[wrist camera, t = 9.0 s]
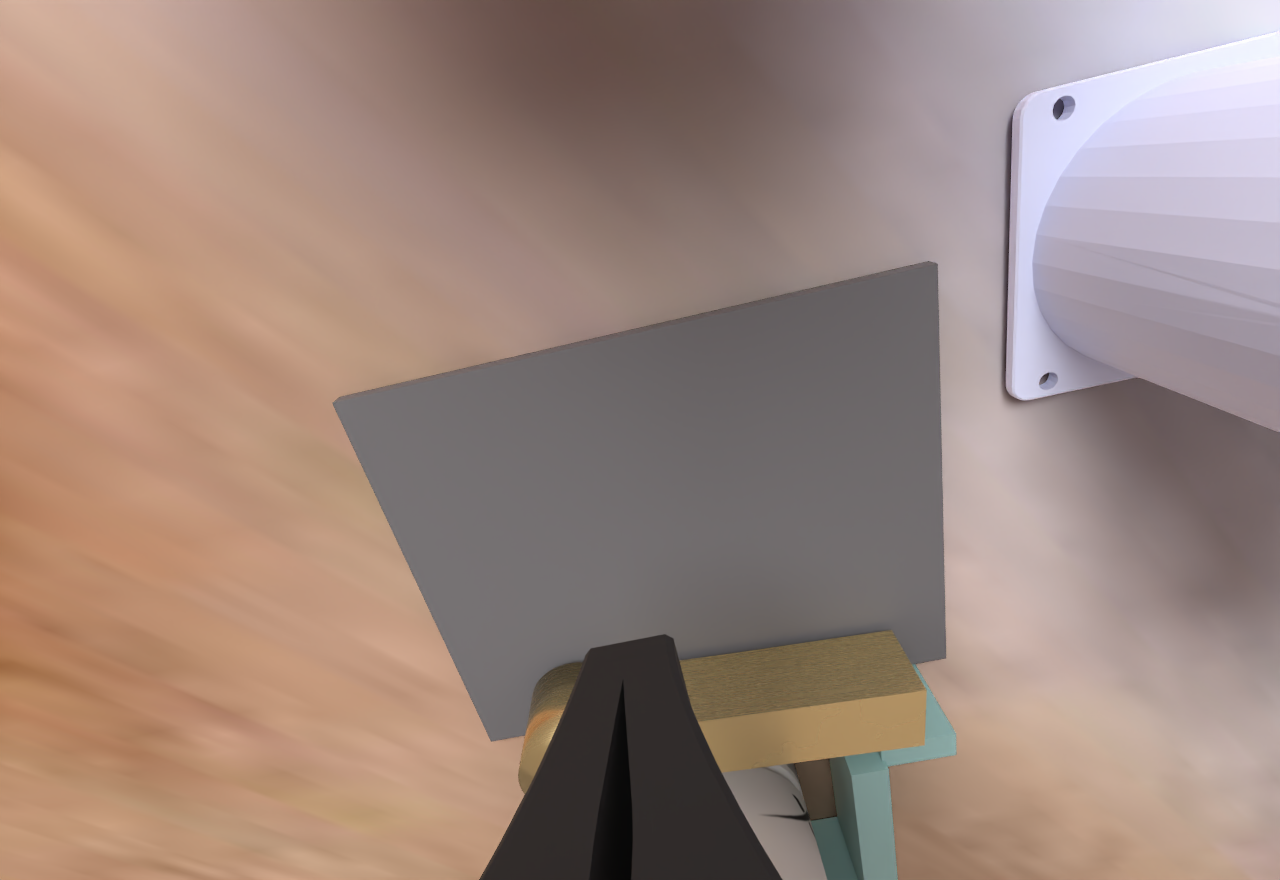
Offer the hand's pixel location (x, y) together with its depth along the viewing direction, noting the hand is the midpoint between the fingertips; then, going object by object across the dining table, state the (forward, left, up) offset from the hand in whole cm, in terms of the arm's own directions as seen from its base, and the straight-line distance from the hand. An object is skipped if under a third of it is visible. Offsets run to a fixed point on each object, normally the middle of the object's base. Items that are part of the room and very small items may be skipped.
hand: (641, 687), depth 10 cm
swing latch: (-1, +9, -9) cm, 13 cm away
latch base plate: (-1, +4, -9) cm, 10 cm away
